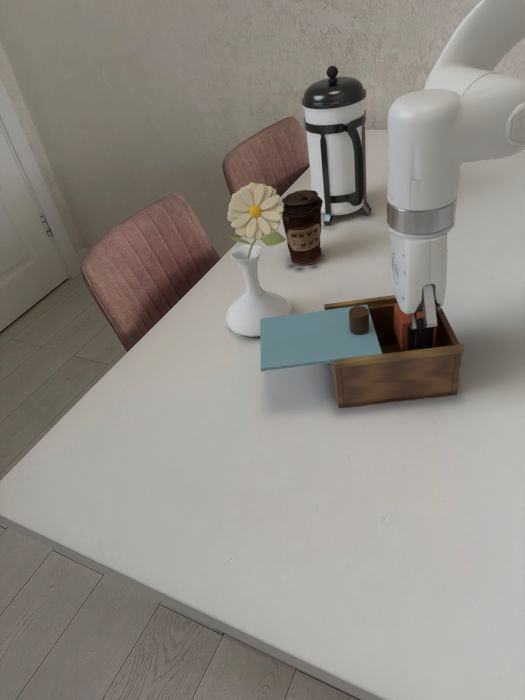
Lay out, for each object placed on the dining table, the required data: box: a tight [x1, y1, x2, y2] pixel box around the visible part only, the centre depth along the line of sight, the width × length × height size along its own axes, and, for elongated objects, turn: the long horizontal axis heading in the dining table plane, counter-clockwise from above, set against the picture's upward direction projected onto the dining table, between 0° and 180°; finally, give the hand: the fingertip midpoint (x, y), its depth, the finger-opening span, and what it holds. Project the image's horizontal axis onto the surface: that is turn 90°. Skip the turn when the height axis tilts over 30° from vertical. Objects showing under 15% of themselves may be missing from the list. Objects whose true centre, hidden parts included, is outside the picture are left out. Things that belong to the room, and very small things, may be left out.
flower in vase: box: [225, 181, 292, 338], centre depth 78 cm, size 13×11×25 cm
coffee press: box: [301, 65, 373, 226], centre depth 104 cm, size 17×16×30 cm
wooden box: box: [323, 294, 466, 409], centre depth 70 cm, size 16×13×9 cm
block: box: [394, 302, 436, 350], centre depth 67 cm, size 4×4×4 cm
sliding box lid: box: [259, 305, 382, 372], centre depth 67 cm, size 16×11×4 cm
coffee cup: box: [281, 189, 323, 266], centre depth 97 cm, size 9×8×13 cm
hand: (414, 335), depth 68 cm, fingers open, 4 cm apart
